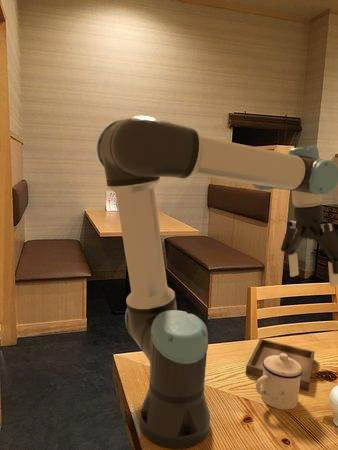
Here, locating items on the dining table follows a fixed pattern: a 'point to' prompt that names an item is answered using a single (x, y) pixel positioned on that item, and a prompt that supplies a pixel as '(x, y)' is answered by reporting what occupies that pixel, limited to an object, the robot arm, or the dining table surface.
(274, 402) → the teacup with lid
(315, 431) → the dining table surface
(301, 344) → the dining table surface
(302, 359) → the walnut tray
